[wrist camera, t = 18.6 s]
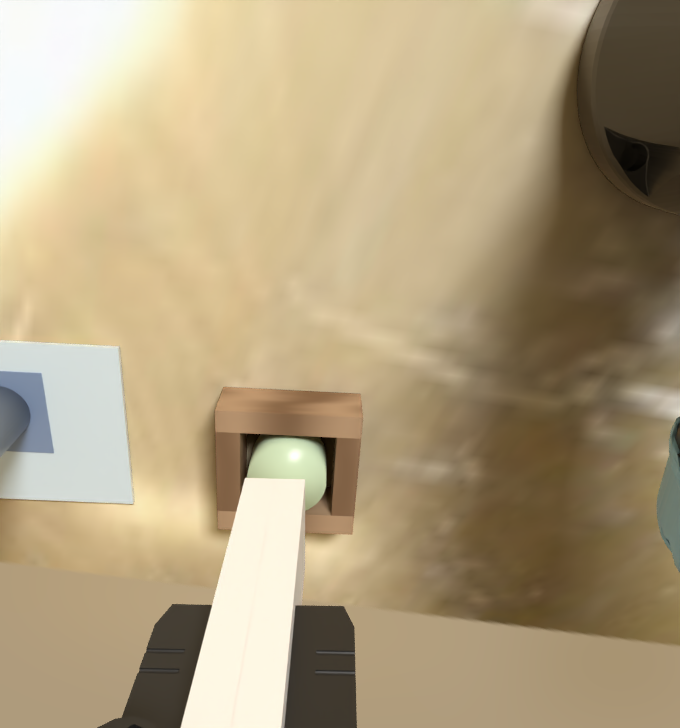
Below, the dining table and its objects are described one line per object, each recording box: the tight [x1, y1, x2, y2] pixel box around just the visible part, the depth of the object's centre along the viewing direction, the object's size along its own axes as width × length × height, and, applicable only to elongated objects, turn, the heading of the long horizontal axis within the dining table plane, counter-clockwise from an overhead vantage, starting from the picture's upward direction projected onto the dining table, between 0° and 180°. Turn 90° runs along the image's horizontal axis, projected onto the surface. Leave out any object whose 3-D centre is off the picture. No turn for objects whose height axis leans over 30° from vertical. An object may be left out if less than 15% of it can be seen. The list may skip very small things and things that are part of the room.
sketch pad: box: [0, 340, 134, 504], centre depth 39 cm, size 16×12×1 cm
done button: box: [247, 434, 326, 511], centre depth 38 cm, size 5×5×3 cm
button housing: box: [215, 387, 363, 534], centre depth 39 cm, size 9×9×3 cm
